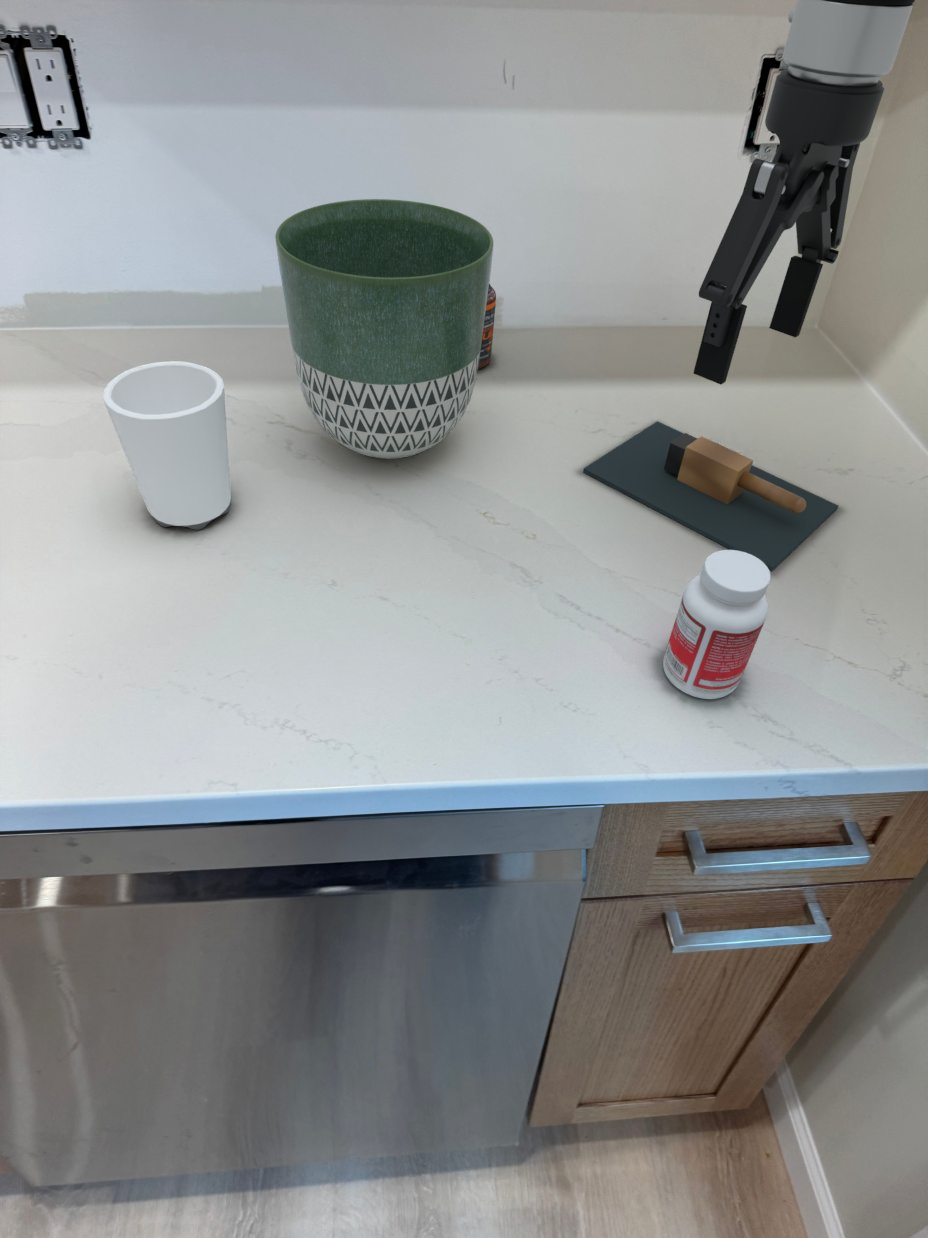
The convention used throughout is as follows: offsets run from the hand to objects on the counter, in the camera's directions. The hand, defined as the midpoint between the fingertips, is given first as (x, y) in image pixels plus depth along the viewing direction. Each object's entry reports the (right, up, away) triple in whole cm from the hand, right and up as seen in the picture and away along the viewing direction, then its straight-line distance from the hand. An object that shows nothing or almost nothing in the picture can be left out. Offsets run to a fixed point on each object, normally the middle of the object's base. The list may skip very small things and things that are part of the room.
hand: (748, 353), depth 73 cm
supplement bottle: (-25, +8, +30) cm, 40 cm away
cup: (-52, -13, +5) cm, 54 cm away
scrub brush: (+2, -11, +10) cm, 15 cm away
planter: (-34, -5, +15) cm, 37 cm away
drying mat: (0, -10, +12) cm, 16 cm away
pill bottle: (-6, -28, -7) cm, 30 cm away
